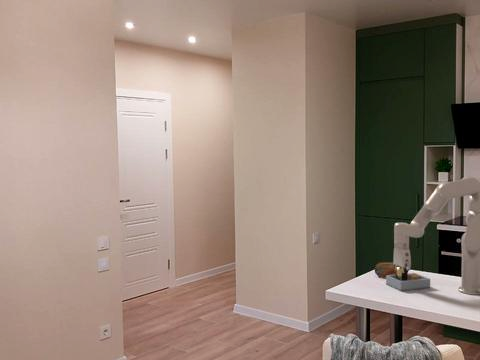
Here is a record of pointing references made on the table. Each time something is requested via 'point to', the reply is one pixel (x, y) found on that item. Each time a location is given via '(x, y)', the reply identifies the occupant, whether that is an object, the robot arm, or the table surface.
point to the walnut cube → (413, 277)
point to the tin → (385, 269)
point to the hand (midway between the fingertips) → (401, 278)
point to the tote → (407, 283)
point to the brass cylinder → (400, 273)
